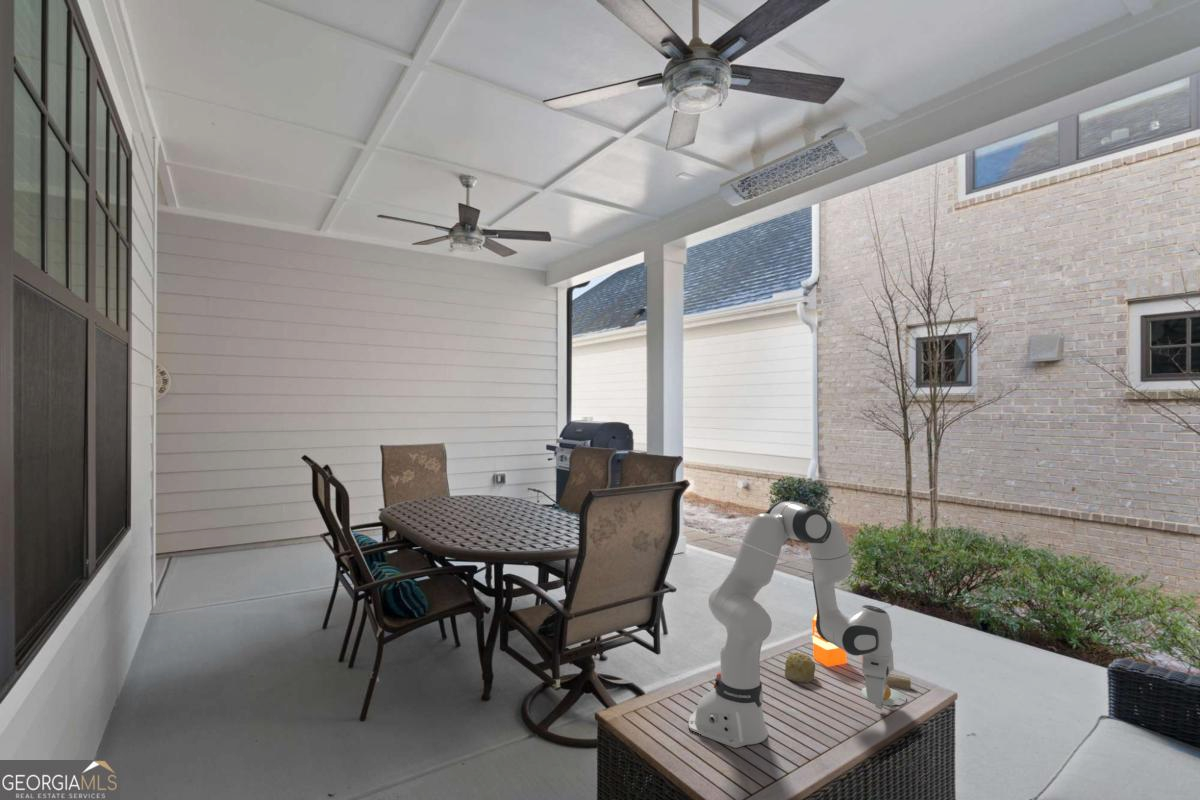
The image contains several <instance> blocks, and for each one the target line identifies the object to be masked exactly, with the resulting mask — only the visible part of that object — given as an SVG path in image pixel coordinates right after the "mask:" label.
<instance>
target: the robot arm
mask: <svg viewBox="0 0 1200 800" xmlns="http://www.w3.org/2000/svg"><path fill="white" fill-rule="evenodd" d="M788 539H791V540H795V541H799V542H801V543H802V542H803V543H806V544H807V545H808V548H809V552H810V557H811V561H812V567H813V569H812V575H811V576H812V583H813V590H814V591H813V592H814V598H815V604H816V612H817V617H816V629H817V632H818V634H819V635H820V637H821V638H822V639H824V640H826V641H828V642H830V643H832V644H834V645H835V646H837V647H839V648H840V649H842V650H844V651H845V652H846V654H848V655H852V656H856V657H857V656H860V657H861V659H860V660H861V665H862V666H861V669H862V670H861V671H862V673H861V674H862V675H864V674H865V680H864V681H865V683H864V684H865V687H866V692H867V698H868V699H867V698H866V699H867V701H868V703H869V704H873V705H875V708H877V709H879V710H883V706H884V705H883V698H884V694H885V690H886V686H887V682H888V675H889V674H891V672H892V671H893V670H894V668H895V667H894V666H895V665H894V650H893V649H892V641H893V630H892V628H893V627H892V622H891V618H890V615H889V612H887V611H886V610H885V609H882V608H881V607H878V606H875V605H868V604H866V605H865V604H864V605H862V606H861V608H860V610H859V611H858V612H857V613H856V614H854V615H853V616H851V617H848V616H846V615H845V614H843V613H842V611H841V610H840V609H839V606H838V603H837V597H836V590H835V589H836V588H835V585H836V584H837V583H839V582H842V581H844V580H846V579H847V578H848V577H849V576H850V575H851V573H852V569H853V567H852V559H851V558H852V557H851V554H850V550H849V546H848V543H847V540H846V537H845V535H844V533H843V530H842V527H841V526H840V524H839V522H838V521H837V519H834V518H832V517H828V516H827V515H826V514H825V513H824V512H823V511H821V510H820V509H819V508H816V507H815V506H812V505H811V506H810V505H807V504H804V503H802V502H798V501H790V500H778V501H776V502H775V503H773V504H772V505H771V506H769V508H768V509H767V511H766V512H765V513H764V512H762V513H758V514H757V515H755V516H754V518H753V519H752V521H751V522H750V524H749V526H748V528H747V530H746V532H745V534H744V536H743V539H742V543H741V544H740V548H739V550H738V553H737V556H736V559H735V561H734V564H733V565H732V568H731V569H730V571H729V573H728V574H727V576H726V578H725V579H724V580H723V582H722V583H721V585H720V586H718V587H716V588H715V589H713V590H712V592H711V593H710V594H709V597H708V608H709V610H710V612H711V614H712V616H713V618H714V619H715V620H716V621H718V622H719V623H720V624H721V625H723V626H724V627H725V630H726V634H727V635H726V641H725V646H723V647H722V648H721V651H720V671H718V672H717V674H716V678H715V679H714V681H713V689H711V690H710V691H708V692H707V693H705V694H704V695H703V696H701V698H700V700H699V701H698V703H697V707H696V709H695V711H693V712H692V713H691V715H690V717H689V719H688V724H687V726H688V725H689V727H688V729H689V728H690V729H691V730H693V731H695V732H697V733H699V734H698V735H700V734H701V735H700V736H703V737H706V738H709V739H710V740H713V741H715V742H717V743H718V742H719V743H721V744H724V745H726V746H728V747H731V748H734V749H737V748H738V749H739V748H741V747H743V746H749V745H750V746H751V745H756V744H760V743H762V742H764V741H765V740H766V739H767V738H768V735H769V733H768V729H767V725H766V723H765V722H766V721H765V716H764V711H763V706H762V704H763V695H764V694H763V693H764V691H763V686H762V685H763V684H762V681H761V671H760V670H761V669H760V668H761V665H760V658H761V651H762V645H763V643H764V641H765V640H766V639H768V637H769V636H770V634H771V631H772V627H773V626H772V625H773V622H772V619H771V618H772V617H770V614H769V613H768V612H767V611H766V609H765V608H764V607H763V605H761V604H760V603H759V602H758V601H756V600H755V599H756V596H757V595H758V593H759V592H760V591H761V590H762V588H763V587H765V586H767V585H769V584H770V582H771V580H772V577H773V574H774V571H775V569H776V566H777V563H778V561H779V557H780V555H781V552H782V551H781V550H782V547H783V545H784V543H785V542H786V541H787V540H788ZM691 723H693V724H691ZM695 732H694V733H695ZM697 733H696V734H697Z"/></svg>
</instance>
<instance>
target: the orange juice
mask: <svg viewBox="0 0 1200 800" xmlns="http://www.w3.org/2000/svg"><path fill="white" fill-rule="evenodd" d="M816 617H817V611H816V612H815V614H814V616H813V617H812V619H811V624H812V625H811V628H812V646H813V647H812V648H813V649H812V651H813V653H812V654H813V659H814V660H815V659H816V660H815V661H817V662H819V663H821V664H822V665H824V666H826V667H833V666H838V665H845V664H848V662H847V661H848V659H847V652H845V651H844V650H842V649H840V648H839V647H837V646H835V645H834V644H832V643H830V642H828V641H826V640H824V639H822V638H821V637H820V635H819V634H818V632H817V629H816Z"/></svg>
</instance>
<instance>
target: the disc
mask: <svg viewBox="0 0 1200 800" xmlns="http://www.w3.org/2000/svg"><path fill="white" fill-rule="evenodd" d="M889 688H890V690H891V695H890V697H889V698H888V699H886V700H883V706H887V705H890V707H893V706H892V705H893V702H894V701H895V700H897V699H899V698H900V699H901V698H902V697H903V698H904V697H905V698H906V699H907V697H906V695H905V694H903V693H902V692H901V691H898V690H896V689H894V688H891V687H889ZM861 694H862V696H863V697H864V698H865V699H866V700H868V698H867V692H866V686H864V687H863V688H861ZM894 703H895V702H894Z"/></svg>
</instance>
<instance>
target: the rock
mask: <svg viewBox="0 0 1200 800" xmlns="http://www.w3.org/2000/svg"><path fill="white" fill-rule="evenodd" d="M784 665H785V667H784V668H785V669H784V676H785V678H786V677H787V678H786V679H787V680H790V681H794V682H796V683H802V684H805V683H809V684H810V683H812V682H813V681H814V680H815V678H814V677H815V673H816V664H815V661H814V660H812V658H811V657H810V656H808V655H807V654H804V653H801V652H793V653H791V654H789V655H788V656H787V658H786V660H785V664H784Z"/></svg>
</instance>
